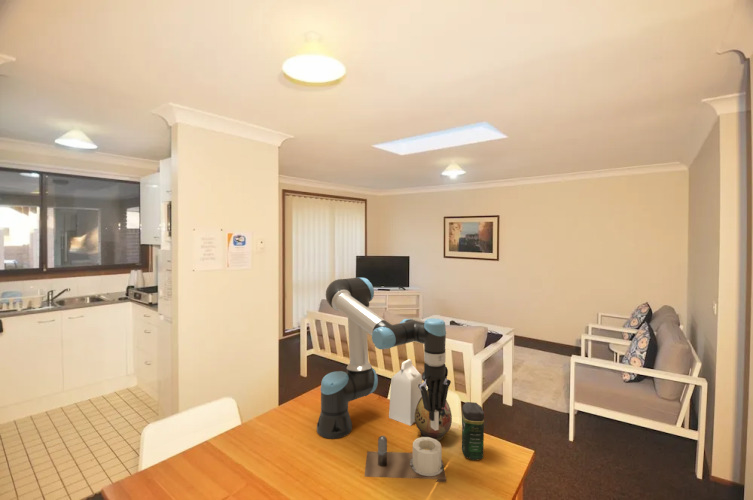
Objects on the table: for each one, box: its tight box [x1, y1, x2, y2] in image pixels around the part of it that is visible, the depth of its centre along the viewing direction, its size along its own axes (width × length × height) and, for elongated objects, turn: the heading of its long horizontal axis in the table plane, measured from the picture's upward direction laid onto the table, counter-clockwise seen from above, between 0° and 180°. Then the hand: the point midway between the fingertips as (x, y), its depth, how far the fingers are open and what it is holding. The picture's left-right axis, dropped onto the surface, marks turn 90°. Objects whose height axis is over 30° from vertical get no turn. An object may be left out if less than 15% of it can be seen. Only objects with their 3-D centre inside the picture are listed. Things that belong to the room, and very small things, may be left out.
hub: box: [410, 448, 445, 477], centre depth 124 cm, size 12×12×6 cm
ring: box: [412, 436, 443, 474], centre depth 124 cm, size 10×10×7 cm
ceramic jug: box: [414, 366, 453, 442], centre depth 144 cm, size 17×15×30 cm
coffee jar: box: [461, 401, 485, 461], centre depth 132 cm, size 10×8×19 cm
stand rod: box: [377, 435, 388, 467], centre depth 124 cm, size 3×3×10 cm
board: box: [364, 450, 447, 483], centre depth 124 cm, size 28×14×1 cm, turn 88°
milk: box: [388, 358, 423, 427], centre depth 160 cm, size 12×12×26 cm
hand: (434, 428), depth 123 cm, fingers closed
